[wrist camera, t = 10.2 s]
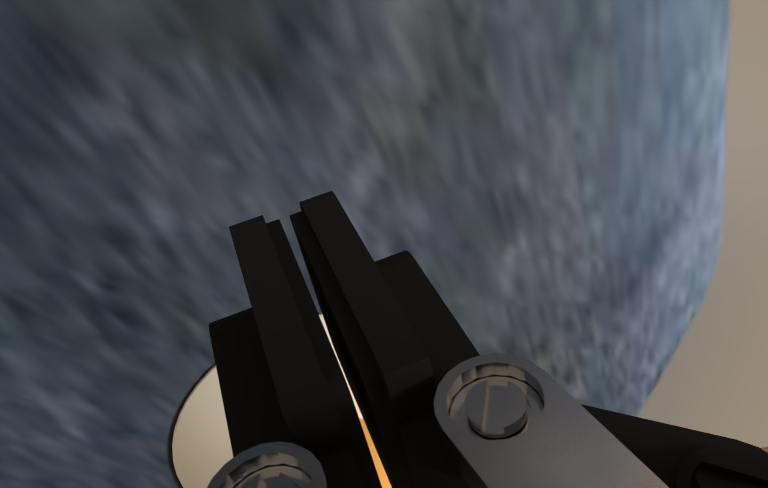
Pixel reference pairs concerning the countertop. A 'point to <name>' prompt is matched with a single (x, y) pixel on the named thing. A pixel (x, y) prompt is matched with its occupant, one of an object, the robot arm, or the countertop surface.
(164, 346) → the countertop surface
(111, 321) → the countertop surface
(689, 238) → the countertop surface
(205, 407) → the disc
